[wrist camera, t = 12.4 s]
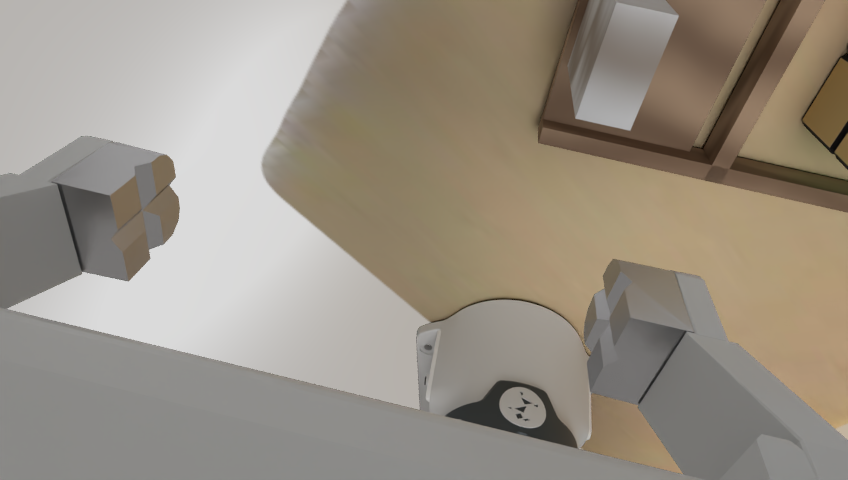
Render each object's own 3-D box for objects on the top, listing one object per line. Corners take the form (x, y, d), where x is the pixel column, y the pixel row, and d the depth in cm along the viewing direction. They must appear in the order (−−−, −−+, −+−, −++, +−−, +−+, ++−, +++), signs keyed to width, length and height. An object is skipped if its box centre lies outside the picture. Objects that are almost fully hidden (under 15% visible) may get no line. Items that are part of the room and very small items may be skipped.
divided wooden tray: (919, 213, 40) (1017, 306, 32) (537, 128, 41) (538, 196, 33) (1129, -31, 30) (1346, 12, 22) (620, -136, 31) (650, -130, 23)
